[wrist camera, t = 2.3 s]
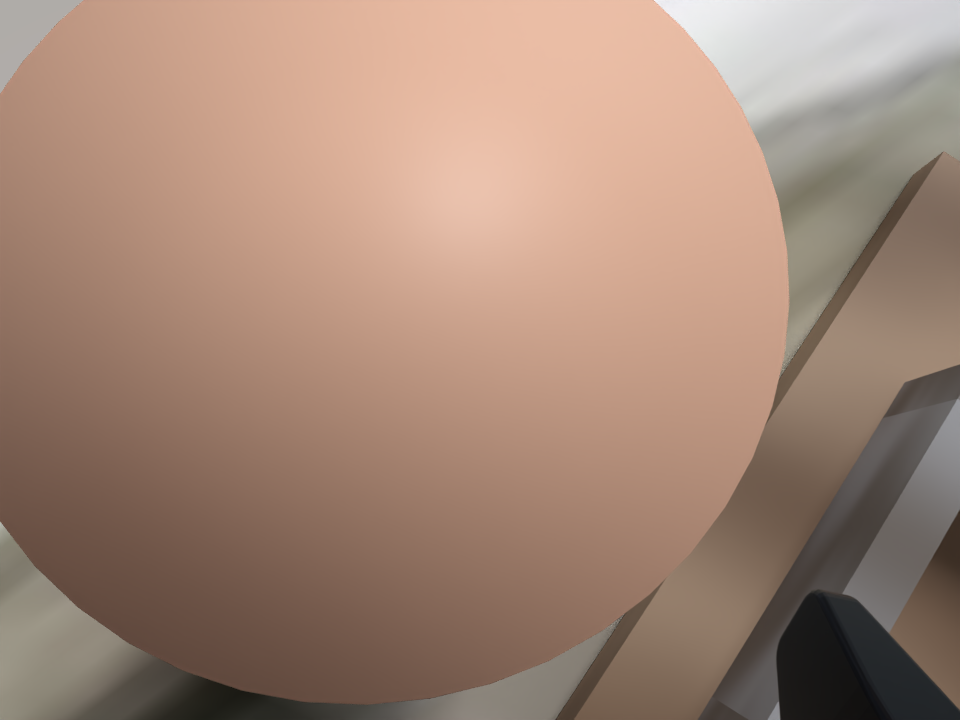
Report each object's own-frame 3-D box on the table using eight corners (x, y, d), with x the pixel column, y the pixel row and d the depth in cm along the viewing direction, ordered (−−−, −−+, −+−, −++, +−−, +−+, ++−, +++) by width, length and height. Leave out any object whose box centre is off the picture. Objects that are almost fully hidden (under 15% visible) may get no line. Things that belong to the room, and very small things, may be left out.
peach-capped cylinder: (451, 618, 16) (457, 920, 4) (272, 480, 17) (-258, 331, 4) (582, 434, 17) (934, 181, 5) (409, 309, 18) (312, -227, 5)
